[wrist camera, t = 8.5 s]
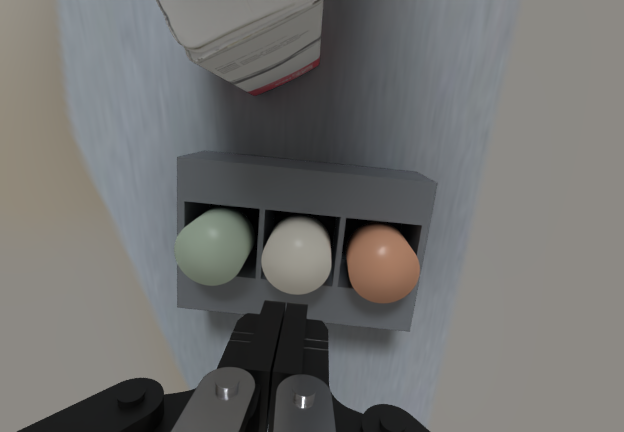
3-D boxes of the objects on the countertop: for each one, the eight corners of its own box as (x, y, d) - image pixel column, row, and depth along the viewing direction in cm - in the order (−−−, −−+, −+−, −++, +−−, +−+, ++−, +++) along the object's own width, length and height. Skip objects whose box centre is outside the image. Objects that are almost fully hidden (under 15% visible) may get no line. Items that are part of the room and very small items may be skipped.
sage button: (195, 203, 21) (174, 216, 18) (256, 209, 21) (245, 223, 18) (194, 260, 22) (174, 281, 19) (253, 266, 22) (242, 289, 19)
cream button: (272, 211, 21) (263, 225, 18) (333, 217, 21) (335, 232, 18) (268, 268, 22) (259, 290, 19) (327, 274, 22) (327, 297, 19)
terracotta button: (349, 218, 21) (353, 234, 18) (411, 225, 21) (425, 241, 18) (342, 275, 22) (345, 299, 19) (401, 282, 22) (413, 306, 19)
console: (204, 150, 23) (177, 156, 19) (416, 171, 23) (437, 183, 19) (202, 276, 26) (177, 307, 21) (395, 296, 26) (409, 331, 21)
